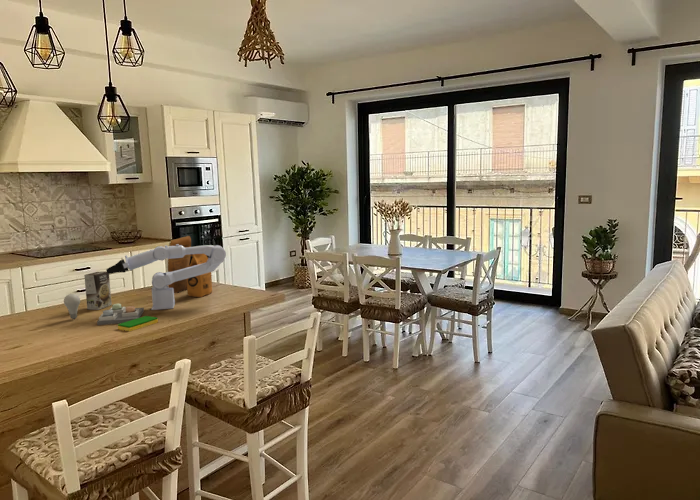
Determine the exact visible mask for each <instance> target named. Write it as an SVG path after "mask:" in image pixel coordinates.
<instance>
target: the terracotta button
mask: <svg viewBox="0 0 700 500" xmlns="http://www.w3.org/2000/svg"><path fill="white" fill-rule="evenodd" d="M125 308H126V313H131V312H135V308H136V306H135V305H131V306H130V305H129V306H125Z"/></svg>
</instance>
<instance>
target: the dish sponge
mask: <svg viewBox="0 0 700 500" xmlns="http://www.w3.org/2000/svg"><path fill="white" fill-rule="evenodd" d="M157 323H159V320H158V317H156V316H151V315H150V316H149V315H144V316H141V317H140V318H137V319H134V320H131V321H127V322H124V323H119V324H117V329H118V330H119V331H124V330H125V332H132V331H135V330H139V329H142V328H146V327H148V326H150V325H151V326H152V325H155V324H157Z"/></svg>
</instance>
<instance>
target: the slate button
mask: <svg viewBox="0 0 700 500" xmlns="http://www.w3.org/2000/svg"><path fill="white" fill-rule="evenodd" d="M102 314H103V316H104V317H105V316H112V315H113V310H109V309H105V310H102Z"/></svg>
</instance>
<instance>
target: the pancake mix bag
mask: <svg viewBox="0 0 700 500" xmlns="http://www.w3.org/2000/svg"><path fill="white" fill-rule="evenodd" d="M176 244H179V245H182V246H183V247H185V248H187V247H192V238H191V236H190V235H187V236H183V237H178V238H176V239H171V240H170V242H169V243H168V247H169V246H176ZM191 257H192V256H191V255H190V254H187V255H185V256H184V257H183V258H173V259H170V257H169V259H168V258H167V267H166V268H167V272H173V271H176V270H180V269H184V268H187V267H189V265H190V264H191ZM167 286H168V288H173V289H174V294H177V293H181V292H184V291H187V279H184V280H180V281H176V282H174V283H172V284H170V285H167Z"/></svg>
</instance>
